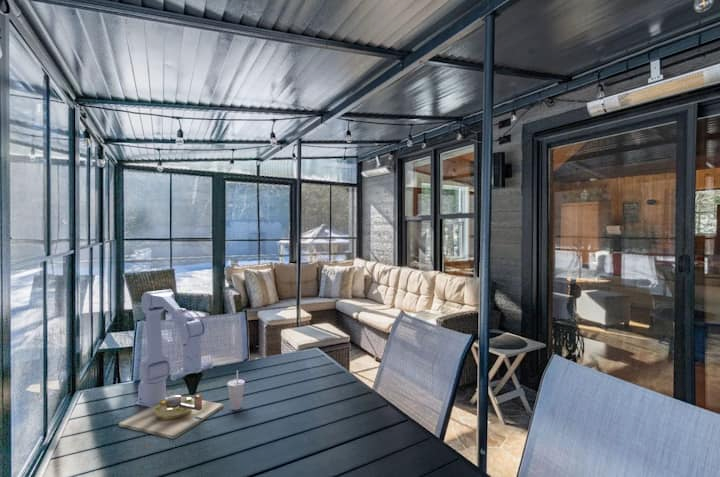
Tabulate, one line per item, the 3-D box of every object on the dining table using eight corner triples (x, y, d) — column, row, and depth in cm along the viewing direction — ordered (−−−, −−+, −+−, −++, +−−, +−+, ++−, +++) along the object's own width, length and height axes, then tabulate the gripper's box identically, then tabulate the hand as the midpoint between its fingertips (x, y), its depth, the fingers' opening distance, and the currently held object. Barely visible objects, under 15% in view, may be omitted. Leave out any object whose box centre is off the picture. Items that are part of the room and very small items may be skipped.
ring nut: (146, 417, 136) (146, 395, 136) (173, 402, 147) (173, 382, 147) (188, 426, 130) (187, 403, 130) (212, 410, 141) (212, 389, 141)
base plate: (118, 426, 132) (118, 408, 132) (173, 397, 155) (173, 382, 155) (175, 439, 124) (174, 420, 124) (224, 406, 147) (224, 391, 147)
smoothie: (239, 412, 142) (239, 374, 142) (223, 410, 144) (223, 373, 143) (248, 404, 149) (247, 368, 148) (232, 403, 150) (232, 367, 150)
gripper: (178, 363, 125) (178, 405, 125) (217, 351, 137) (217, 389, 137) (166, 359, 129) (167, 399, 129) (205, 348, 141) (205, 385, 141)
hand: (192, 394), depth 134 cm, fingers closed
